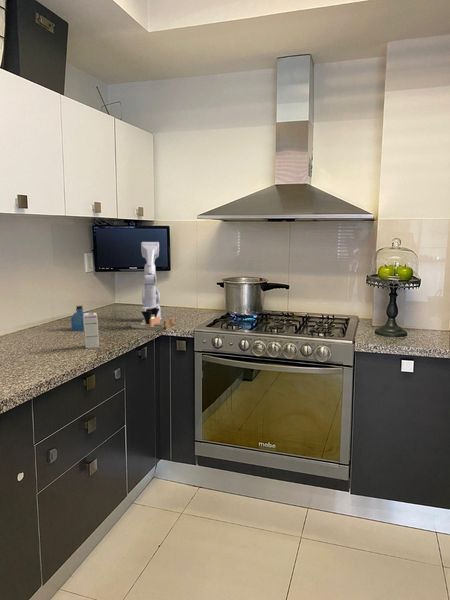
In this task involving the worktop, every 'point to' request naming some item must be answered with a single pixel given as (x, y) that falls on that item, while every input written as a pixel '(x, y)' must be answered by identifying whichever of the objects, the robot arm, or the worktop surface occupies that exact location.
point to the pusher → (156, 322)
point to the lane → (167, 325)
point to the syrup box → (90, 330)
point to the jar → (151, 318)
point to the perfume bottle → (78, 319)
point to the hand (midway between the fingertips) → (150, 322)
